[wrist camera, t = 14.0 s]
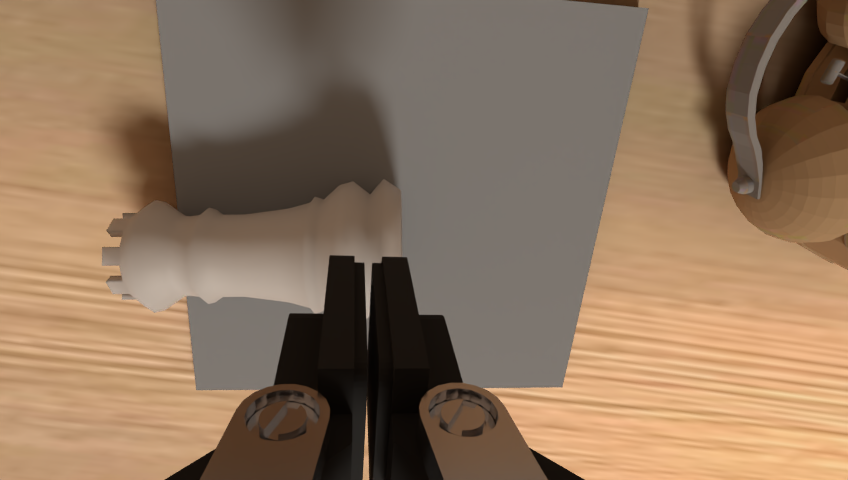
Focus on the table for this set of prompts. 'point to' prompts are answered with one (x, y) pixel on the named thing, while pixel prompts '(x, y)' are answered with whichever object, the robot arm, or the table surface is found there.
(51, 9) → the table surface
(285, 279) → the rook chess piece
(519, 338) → the mat
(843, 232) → the alarm clock
